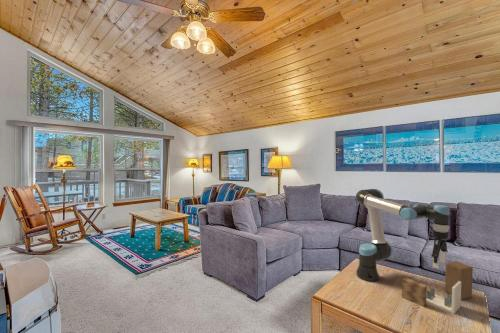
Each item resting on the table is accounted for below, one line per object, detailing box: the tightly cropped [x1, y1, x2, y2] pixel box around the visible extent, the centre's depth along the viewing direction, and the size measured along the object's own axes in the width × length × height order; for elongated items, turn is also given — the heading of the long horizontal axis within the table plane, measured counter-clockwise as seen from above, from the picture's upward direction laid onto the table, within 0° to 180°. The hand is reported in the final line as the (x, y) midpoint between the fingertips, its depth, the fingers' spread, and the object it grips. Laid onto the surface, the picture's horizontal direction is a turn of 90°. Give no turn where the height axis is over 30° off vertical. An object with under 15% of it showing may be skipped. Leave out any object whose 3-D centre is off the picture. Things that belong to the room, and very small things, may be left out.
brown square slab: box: [401, 277, 428, 308], centre depth 149 cm, size 12×4×12 cm, turn 35°
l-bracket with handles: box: [426, 281, 462, 315], centre depth 147 cm, size 16×12×15 cm
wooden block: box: [444, 260, 474, 301], centre depth 155 cm, size 10×10×20 cm
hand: (439, 264), depth 148 cm, fingers open, 13 cm apart
